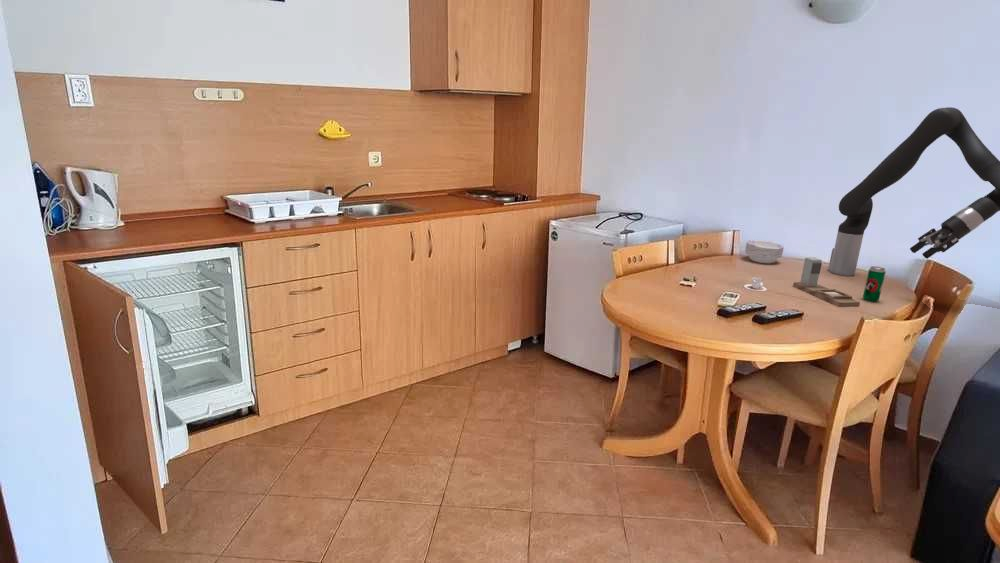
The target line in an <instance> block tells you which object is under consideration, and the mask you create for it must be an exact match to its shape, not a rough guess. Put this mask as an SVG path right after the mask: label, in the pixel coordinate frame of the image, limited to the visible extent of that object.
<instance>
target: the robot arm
mask: <svg viewBox="0 0 1000 563" xmlns="http://www.w3.org/2000/svg"><path fill="white" fill-rule="evenodd" d="M944 135H945V136H946V137H948V138H949V139H950V140H951V141H952V142H954V143H955V144H956V145H957V147H958V148H959V149H960V151H961V154H962V156H963V158H964V161H965V162H966V164H967V165H968V166H969V167H970V169H971V170H972V171H974V173H975V174H976V175H977V176H978V177H979V178H980V179H981V180H982V181H984V182H988V183H990V184H991V185H992V186H993V187H994V189H993V190H991V191H990V192H989V193H987V194H986V195H984V196H982V197H979V198H978V199H976V200H975V201H973V202H972V203H970V204H969V205H967V206H965V207H964V208H961V209H960V210H959V211H957V212H956V213H954V214H953V215H952V216H950V217H949V218H947V219H946V220H944V221H943V222H941V224H940V227H941V228H940V229H937V230H936V228H934V227H933V228H932V229H930V230H928V231H927V232H925V233H924V234H923V235H921V236H919V237H917V240H918V242H917V243H915V244H914V245H913V246H911V247H910V248H909V250H910V251H911V253H913V254H915V253H917V252H918V251H920V250H921V249H923V248H924V247H926V246H931V247H930V248H928V249H926V250H925V251H924V252H923V253H922V257H923V258H924V259H927V260H928V259H929V258H931V257H932V256H933V255H935V254H936V253H940V252H941V253H945V252H946V251H947V250H949V249H951V248H952V247H953V246H955V245H956V244H957V243H959V241H960V240H961V239H963V238H964V237H965V236H967V235H968V234H970V233H971V232H973V231H975V229H977V228H978V227H980V225H982V224H983V223H985V222H986V221H988V220H989V219H990V218H992V217H993V216H994V215H995V214H997V213H998V212H1000V160H999V159H998V158H997V156H996V155H994V154H993V152H992V151H991V150H990V149H989V148H988V147H987V146H986V145H985V144H984V143H983V141H982V140H981V138H980V137H979V136H978V135H977V134H976V132H975V131H974V129H973V128H972V126H971V125H970V124H969V121H968V120H967V118H966V117H965V115H964V113H962V111H961V110H960V109H959V108H956V107H951V106H950V107H949V106H948V107H939V108H936V109H934V110H932V111H931V112H929V113H928V114H927V115H926V116H925V117H924V119H923V120H922V121H921V122H920V123H919V124H918V126H917V127H916V128H915V129H914V131H912V133H911V134H910V135H909V136H907V138H905V139H904V140H903V141H902V142H901V143H900V144H899V145H898V146H897V147H895V149H894V150H893V151H891V152H890V153H889V154H888V155H887V156H886V157H885V158H883V160H882V161H881V162H880V163H879V164H878V165H877V166H876V167H875V168H874V169H873V170H872V171H871V172H870V173H869V174H868V175H867V176H866V177H865V178H864V179H863V180H862V181H861V182H860V183H859V184H857V185H856V186H855V187H854V188H852V189H851V190H849V192H848V193H846V194H845V195H844V196H843V197H842V198H841V199H840V200H839V203H838V211H839V213H840V214H841V215H843V216H845V217H846V218H845V220H844V221H843V222H842V223H840V224H839V225H838V228H837V229H838V230H837V234H836V239H835V243H834V247H833V248H832V249H831V254H830V259H829V264H828V271H829V272H830V273H832V274H835V275H838V276H845V277H846V276H847V277H848V276H849V277H853V276H855V275H856V270H857V267H858V266H857V265H858V262H859V256H860V252H861V248H862V243H863V238H864V234H865V231H866V229H867V227H868V226H869V224H870V219H871V215H872V213H873V212H872V211H873V208H874V207H873V205H874V204H873V202H874V201H873V199H872V198H873V197H874V196H876V195H877V194H878V193H880V192H881V191H883V190H885V189H887V188H889V187H890V186H892V185H894V184H895V183H897V182H899V181H900V180H901V179H902V178H904V177H905V176H906V175H907V174H908V173H909V172H910V171H911V170H912V169H913V168H914V167H915V166H916V164H917V162H918V161H919V160H920V158H921V156H922V155H923V153H924V152H925V151H926V149H927V148H928V147H929V146H931V145H932V144H933V143H934V142H935V141H937V139H940V138H941V137H942V136H944ZM852 275H853V276H852Z"/></svg>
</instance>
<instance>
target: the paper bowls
mask: <svg viewBox="0 0 1000 563" xmlns="http://www.w3.org/2000/svg"><path fill="white" fill-rule="evenodd" d="M744 251H745V253H746V254H747V255H748V257H749V259H750V260H751V261H752V262H755V263H758V264H759V263H760V264H774V263H776V261H777V259H781V258H782V257H783V252H784V245H782V244H780V243H778V242H774V241H767V240H762V239H761V240H760V239H759V240H758V239H751V240H747V241H746V244H745V249H744Z"/></svg>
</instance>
